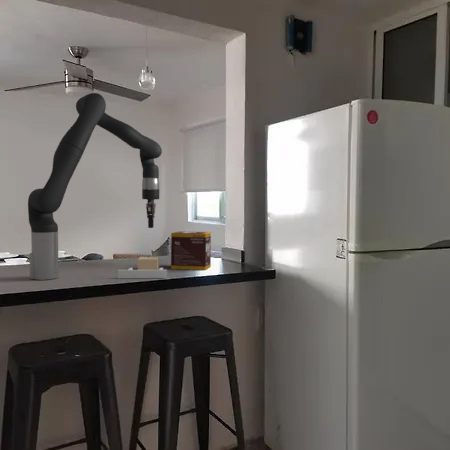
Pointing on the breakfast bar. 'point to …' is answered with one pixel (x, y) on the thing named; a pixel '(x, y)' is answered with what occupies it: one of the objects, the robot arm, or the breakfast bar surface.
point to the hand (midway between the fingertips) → (150, 227)
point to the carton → (148, 263)
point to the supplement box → (191, 250)
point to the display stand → (142, 273)
